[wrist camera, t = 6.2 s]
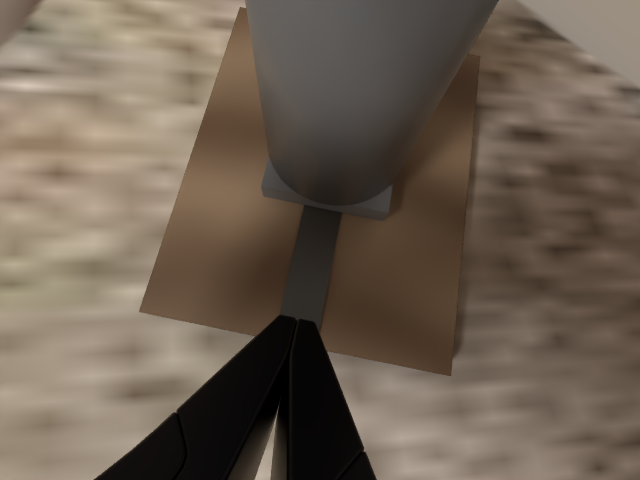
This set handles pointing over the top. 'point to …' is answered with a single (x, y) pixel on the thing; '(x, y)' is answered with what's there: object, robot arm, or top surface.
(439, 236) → the track mount
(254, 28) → the grey lidded canister
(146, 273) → the top surface
